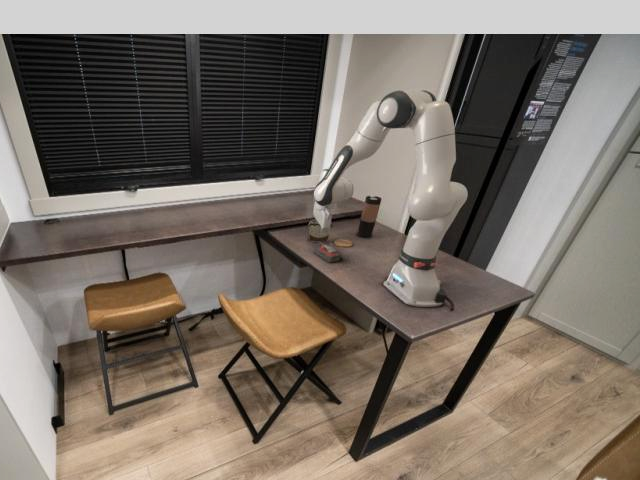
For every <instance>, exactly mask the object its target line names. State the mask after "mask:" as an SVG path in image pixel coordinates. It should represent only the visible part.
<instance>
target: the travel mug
mask: <svg viewBox="0 0 640 480" xmlns="http://www.w3.org/2000/svg"><path fill="white" fill-rule="evenodd" d="M381 203H382V197H380V196H376V195H374V196H371V195H367V196H366V197H365V200H364V204H363V207H362V212H361V214H360V215H361V216H360V220H359V225H358V229H357V236H358V237H360V238H363V239H364V238H365V239H369V238H371V237H372V235H373V231H374V229H375V226H376V222H377V218H378V215H379V210H380V207H381Z"/></svg>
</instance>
